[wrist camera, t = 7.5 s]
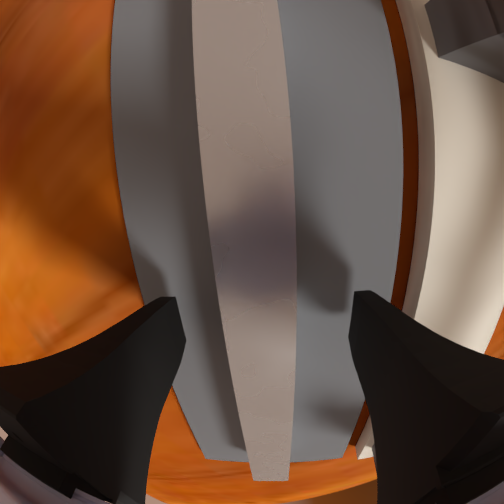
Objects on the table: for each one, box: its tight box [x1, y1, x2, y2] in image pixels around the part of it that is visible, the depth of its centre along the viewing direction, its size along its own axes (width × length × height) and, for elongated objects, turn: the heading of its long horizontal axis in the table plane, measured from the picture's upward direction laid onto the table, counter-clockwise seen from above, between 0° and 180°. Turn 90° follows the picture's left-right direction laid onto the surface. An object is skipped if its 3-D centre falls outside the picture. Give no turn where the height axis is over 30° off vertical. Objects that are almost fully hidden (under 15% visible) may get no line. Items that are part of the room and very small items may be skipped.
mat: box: [111, 0, 403, 462], centre depth 11 cm, size 10×28×1 cm, turn 4°
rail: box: [192, 0, 297, 481], centre depth 9 cm, size 2×25×2 cm, turn 4°
